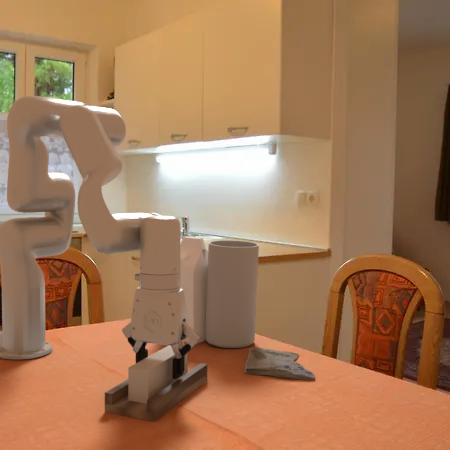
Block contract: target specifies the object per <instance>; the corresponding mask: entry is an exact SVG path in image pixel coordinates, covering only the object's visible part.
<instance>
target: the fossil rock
mask: <svg viewBox="0 0 450 450" xmlns="http://www.w3.org/2000/svg"><path fill="white" fill-rule="evenodd" d="M299 356H300V354H299V353H295V352H293V351H284V350H283V351H281V350H277V349H269V348H263V347H258V346H256V347H254V348H249V349H248V354H247V358H246V361H245V365H244V370H243V373H244V374H250V375H251V374H252V375H255V376H256V375H257V376H270V377H275V378H276V377H277V378H282V379H292V380H293V379H295V380H305V381H307V380H308V381H314V379H315V376H316V375H315V374H314V372H312V371H310V370H309V369H306V368H305V367H304V366H303V365H302V364H300V363H299V362H295V361H297V360H298V359H299Z"/></svg>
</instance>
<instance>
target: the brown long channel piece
mask: <svg viewBox="0 0 450 450" xmlns="http://www.w3.org/2000/svg"><path fill="white" fill-rule="evenodd" d="M206 382H208V364H207V363H202V362H200V363H199V364H197V365H196V366H194V367H193V368H192V369H189V370H188V372H187V373H186V374H184V375H183V376H181V377H180V378H178V379H177V380H175V381H174V382H173V383H171V384H170V385H168V386H167V387H165V388H164V389H162V390H161V391H160V392H158V393H157V394H155V395H154V396H152V397H151V398H149V399H148V400H147V404H146V403H140V402H134V401H129V400H128V378H127V379H125V380H124V381H122V382H121V383H119V384H117V385H116V386H113V387H112V388H110V389H109V390H107V391H105V392H104V413H106V414H107V413H108V414H114V415H117V416H118V415H119V416H123V417H128V418H129V417H130V418H134V419H140V420H146V421H150V422H156V421H157V420H159V419H160V418H161V417H162V416H164V415H165V414H166V413H167V412H169V411H170V410H172V409H173V408H174V407H175V406H177V405H178V404H179V403H181V402H183V400H184V399H185V398H187V397H188V396H190V395H191V394H192V393H193V392H195V391H196V390H198V389H199V388H200V387H201V386H203V385H204V384H205V383H206Z"/></svg>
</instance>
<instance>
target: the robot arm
mask: <svg viewBox="0 0 450 450" xmlns="http://www.w3.org/2000/svg"><path fill="white" fill-rule="evenodd" d="M6 117H7V118H6V130H7V136H8V144H9V147H8V148H9V157H8V166H7V167H8V169H7V183H6V184H7V185H6V201H7V205H8V207H9V208H10V209H11V210H13V211H14V212H16V213H17V212H18V213H24V214H25V213H26V214H27V213H30V214H31V213H44V216H37V217H35V216H33V217H32V216H30V217H29V216H28V217H18V218H17V217H15V218H12V219H8V220H5V221H3V222H2V223H1V224H0V277H1V279H0V280H1V311H2V312H1V314H2V315H1V319H2V320H1V321H2V323H1V325H2V326H1V327H2V330H0V358H1V359H4V360H13V361H14V360H16V361H17V360H30V359H36V358H40V357H44V356H47V355H48V354H50V353H51V352H52V351H53V345H52V343H50V342H49V341H46V285H45V284H46V282H45V281H46V279H45V274H44V271H43V270H42V268H41V266H40V265H39V264H38V261H37V260H36V259H38V258H44V257H45V258H46V257H52V256H53V257H54V256H59V255H61V254H63V253H65V252H66V251H68V249H69V247H70V245H71V243H72V242H71V241H72V237H73V229H74V228H73V226H74V217H75V210H76V209H75V207H76V189H75V186H74V185H75V184H74V183H73V181H72V179H71V178H70V176H68V175H67V174H66V173H64V172H59V171H49V164H50V163H49V162H50V152H49V150H48V147H47V145H46V142H45V141H44V139H43V138H42V137H51V138H60V139H63V140H64V142H65V143H66V146H67V148H68V150H69V152H70V155H71V158H73V160H74V162H75V165H76V168H77V170H78V172H79V174H80V175H81V179H82V182H81V185H80V187H79V190H78V193H77V213H78V218H79V220H80V223H81V225H82V227H83V230H84V232H85V234H86V237H87V238H88V240H89V242H90V243H91V244H92V246H93V247H94V248H95V249H96V250H97V251H99V252H100V253H102V254H105V255H113V254H123V253H130V252H132V253H133V252H139V273H135V274H134V280H135V281H138V282H139V287H136V288H135V292H134V296H133V301H132V307H131V308H132V309H131V320H130V322H129V323H128V324H126V325H125V326H124V327H122V328H121V329H122V330H121V332H122V334H123V336H124V337H125V338H126V339H127V342H128V343H129V345H130V347H132V352H133V353H135V364H136V363H138V362H140V361H141V360H143V359H145V358H147V357H149V351H148V348H146V347H147V345H148V344H154V345H162V346H168V345H171V347H172V350H173V352H174V354H175V358H173V360H172V378H173V379H177V378H179V377H180V376H182V375H183V373H184V370H185V355H186V354H187V353H189V352H190V351H191V350H192V349H193V348H194V346H196V345H197V344H198V343H197V342H198V341H199V340H200V337H199V336H198V335H197V334H196V333H195V332H194V331H193V330H192V329H191V327H190V326H189V325H188V324H187V309H186V302H185V296H184V292H183V289H180V244H181V241H182V238H181V227H182V226H181V221H180V219H179V218H178V217H176V216H173V215H172V216H171V215H155V214H151V213H148V212H147V213H146V212H123V213H122V212H121V213H119V212H118V213H111V211H110V209H109V208H108V206H107V203H106V202H105V199H104V195H103V193H102V192H103V191H102V189H103V188H102V187H104V186H105V185H108V184H109V183H111V182H112V181H113V180H115V179H116V178H117V177H118V176H119V175H120V174H121V172H122V170H123V162H122V159H121V157H120V156H119V153H118V151H117V150H116V148H117V147H118V146H120V145H122V143H124V141H125V138H126V135H127V128H126V123H125V120H124V119H123V117H122V115H121V114H120V113H119V112H118V111H116V110H115V109H112V108H108V107H103V106H98V105H94V104H91V103H87V102H82V101H76V100H71V99H70V100H69V99H63V98H62V99H61V98H57V97H49V96H40V95H28V96H22V97H20V98H18V99H16V100H15V101H14V102H13V103H12V104H11V107H10V108H9V110H8V112H7V116H6ZM186 337H188V338H189V341H188V342H187V343H185V342H183V340H184V339H186ZM196 343H197V344H196Z"/></svg>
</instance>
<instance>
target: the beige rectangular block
mask: <svg viewBox="0 0 450 450" xmlns="http://www.w3.org/2000/svg"><path fill="white" fill-rule="evenodd" d="M188 353H189V352H188ZM188 353H187V354H186V355H185V370H184V373H183V375H184V374H186V373H187V372H188V371H189V369H188V360H189V358H188V357H189V356H188ZM173 358H175V354H174V352H173V350H172V347H171V345H165V347H163V348H161V349H159V350H158V351H156V352H154V353H152V354H150V355H148V357H147V358H145V359H143V360H141V361H140V362H138V363H136V362H135V363H134V364H132V365H131V366H129V367H128V371H127V372H128V375H127V376H128V378H127V379H128V400H129V401H134V402H140V403H146V404H147V400H148V399H149V398H151V397H152V396H154V395H155V394H157V393H158V392H160V391H161V390H162V389H164V388H165V387H167V386H168V385H170V384H171V383H173V382H174V381H175V380H177V379H178V378H177V379H173V378H172V360H173ZM183 375H182V376H183ZM180 377H181V376H180ZM180 377H179V378H180Z"/></svg>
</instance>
